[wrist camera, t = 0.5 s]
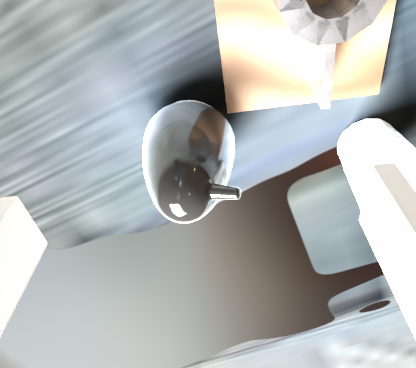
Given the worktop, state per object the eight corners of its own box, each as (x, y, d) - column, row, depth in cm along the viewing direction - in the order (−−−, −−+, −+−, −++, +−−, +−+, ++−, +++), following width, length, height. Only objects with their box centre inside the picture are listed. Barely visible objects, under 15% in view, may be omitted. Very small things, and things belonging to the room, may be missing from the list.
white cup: (412, 128, 40) (460, 179, 32) (366, 175, 45) (398, 229, 37) (361, 102, 38) (399, 149, 30) (319, 153, 42) (342, 206, 35)
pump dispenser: (242, 152, 43) (252, 242, 31) (166, 168, 44) (148, 259, 32) (224, 77, 36) (229, 153, 25) (136, 98, 38) (101, 180, 26)
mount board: (199, -123, 26) (198, -125, 25) (418, -167, 25) (428, -172, 23) (227, 107, 39) (227, 113, 37) (373, 88, 37) (378, 94, 36)
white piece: (224, -122, 25) (226, -130, 21) (387, -155, 24) (421, -169, 20) (243, 97, 36) (246, 118, 32) (355, 82, 35) (372, 103, 31)
